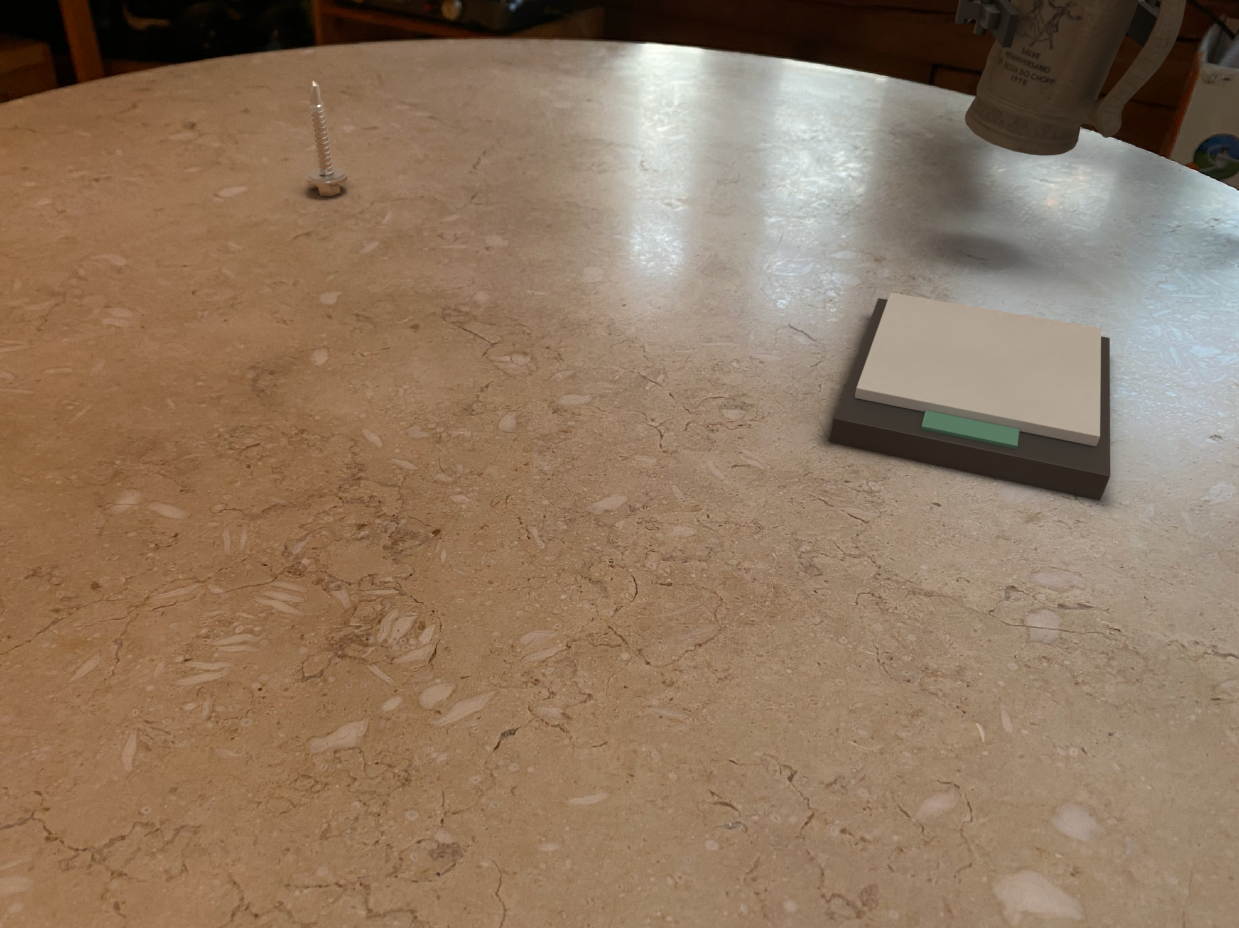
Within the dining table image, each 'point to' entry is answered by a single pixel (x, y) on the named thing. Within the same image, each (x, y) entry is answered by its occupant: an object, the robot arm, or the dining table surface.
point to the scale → (982, 394)
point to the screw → (323, 149)
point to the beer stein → (1064, 73)
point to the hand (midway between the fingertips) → (1083, 33)
